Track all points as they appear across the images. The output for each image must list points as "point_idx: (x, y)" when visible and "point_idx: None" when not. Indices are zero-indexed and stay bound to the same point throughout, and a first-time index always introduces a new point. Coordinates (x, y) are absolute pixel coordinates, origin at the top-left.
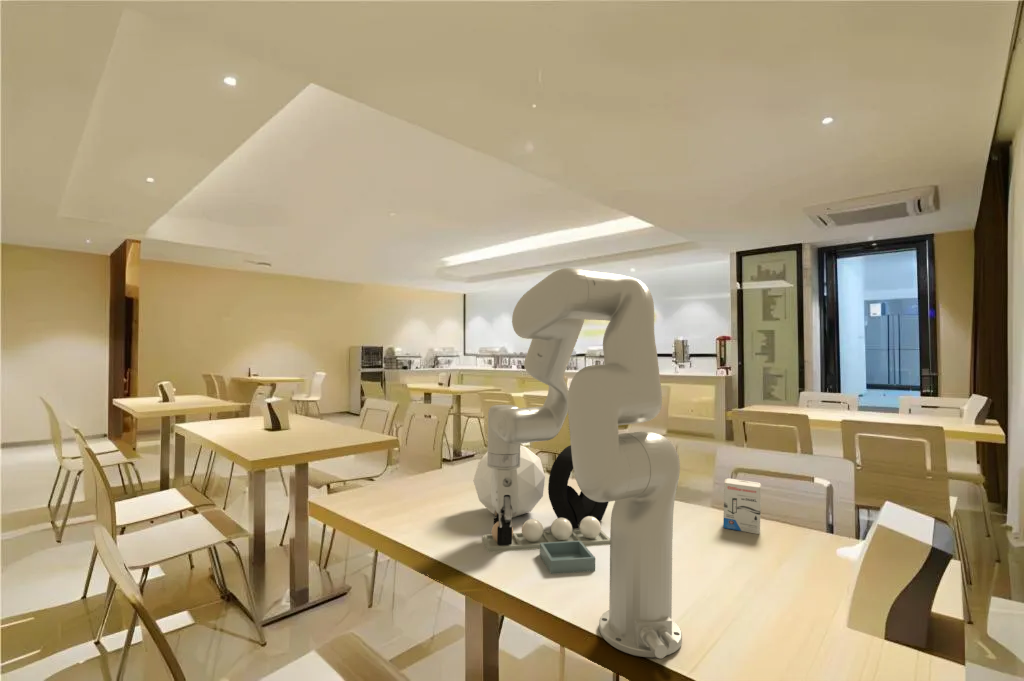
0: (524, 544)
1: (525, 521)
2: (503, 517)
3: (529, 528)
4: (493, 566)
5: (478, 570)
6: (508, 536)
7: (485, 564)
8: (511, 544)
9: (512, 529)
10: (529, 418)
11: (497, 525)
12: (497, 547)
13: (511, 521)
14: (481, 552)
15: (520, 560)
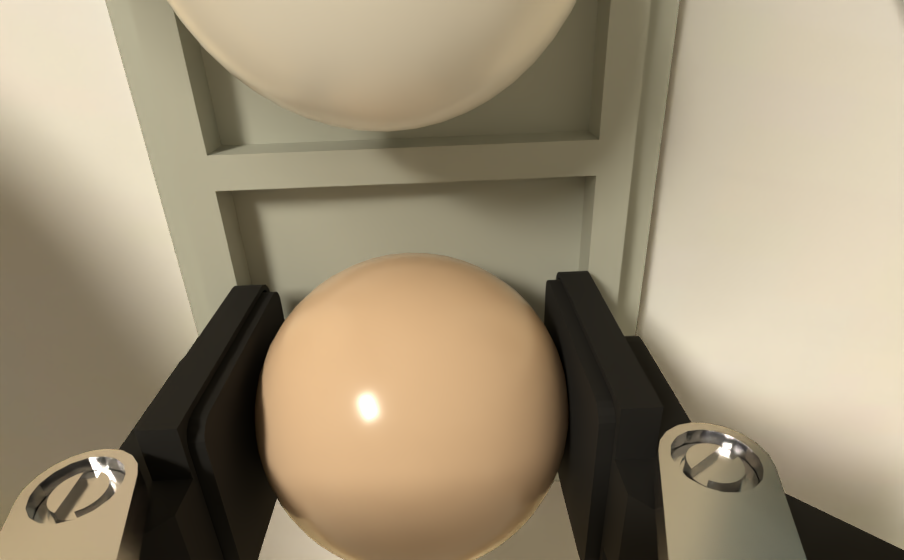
0: (606, 98)
1: (271, 58)
2: (188, 496)
3: (561, 6)
4: (858, 421)
5: (873, 513)
6: (658, 373)
7: (795, 469)
8: (473, 235)
9: (480, 316)
10: None
11: (479, 555)
12: None
13: (794, 523)
14: (556, 481)
15: (846, 182)
